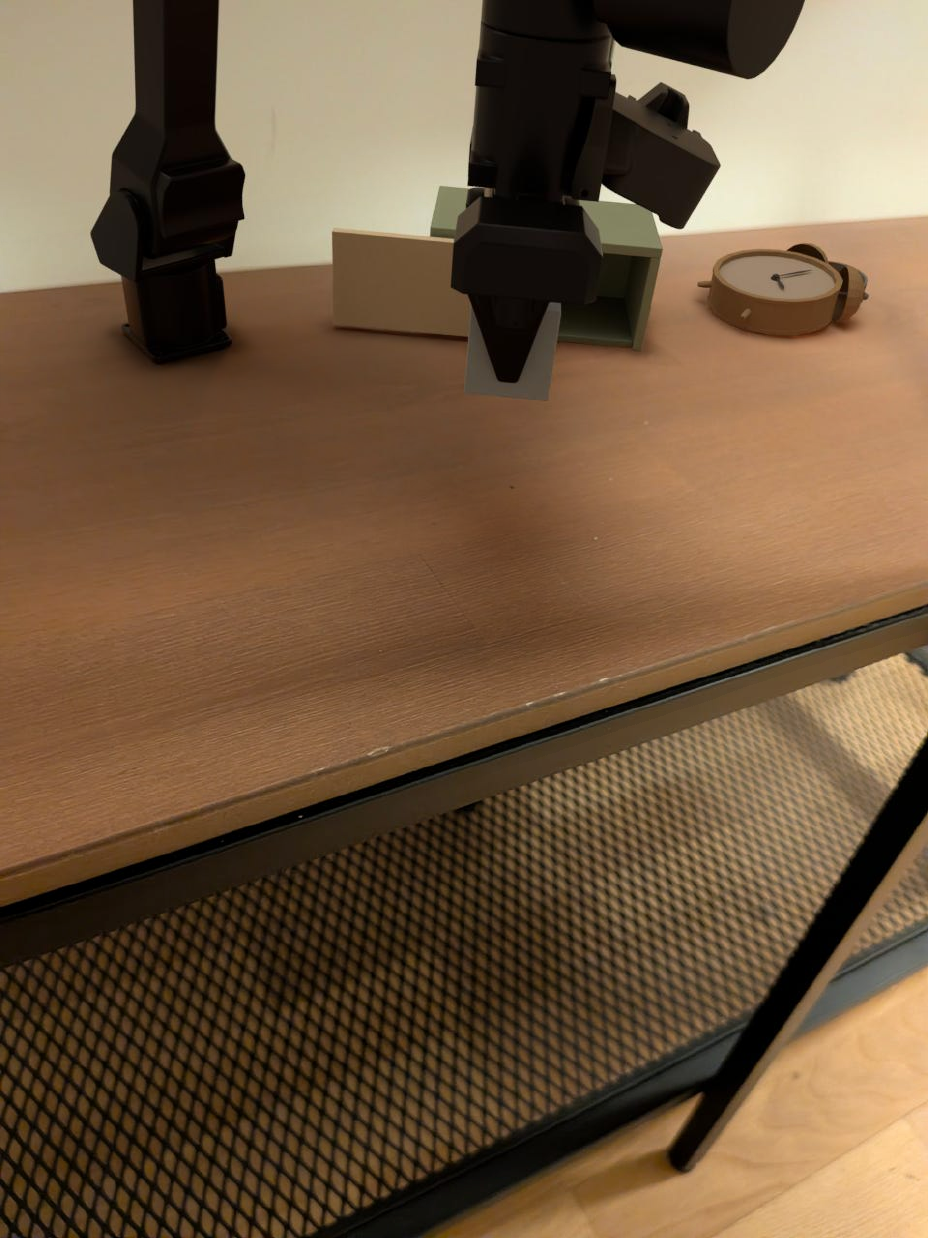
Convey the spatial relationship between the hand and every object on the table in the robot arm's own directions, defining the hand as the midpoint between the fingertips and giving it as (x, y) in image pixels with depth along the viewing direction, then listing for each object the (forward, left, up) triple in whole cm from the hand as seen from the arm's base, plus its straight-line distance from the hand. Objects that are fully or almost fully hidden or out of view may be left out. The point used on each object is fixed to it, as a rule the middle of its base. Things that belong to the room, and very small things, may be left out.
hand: (508, 360), depth 52 cm
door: (+11, +21, -11) cm, 26 cm away
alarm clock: (+44, +12, -11) cm, 47 cm away
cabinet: (+23, +22, -11) cm, 34 cm away
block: (0, 0, -1) cm, 1 cm away
